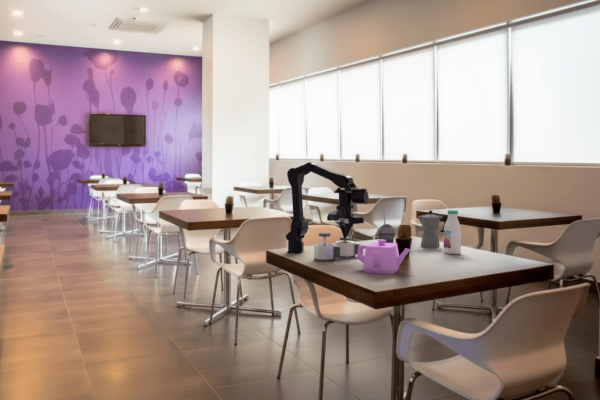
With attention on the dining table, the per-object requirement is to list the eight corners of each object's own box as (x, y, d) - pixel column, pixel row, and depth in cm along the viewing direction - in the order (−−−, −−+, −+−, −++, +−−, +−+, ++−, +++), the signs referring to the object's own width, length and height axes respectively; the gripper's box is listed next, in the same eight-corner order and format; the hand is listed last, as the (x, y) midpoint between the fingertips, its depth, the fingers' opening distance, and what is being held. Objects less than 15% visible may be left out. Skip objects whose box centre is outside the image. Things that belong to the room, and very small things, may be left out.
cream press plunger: (338, 251, 256) (338, 238, 256) (340, 249, 261) (340, 236, 260) (349, 252, 255) (349, 238, 254) (351, 250, 259) (351, 237, 259)
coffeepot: (415, 247, 282) (415, 210, 281) (418, 244, 291) (418, 209, 290) (447, 248, 277) (447, 211, 275) (449, 245, 286) (449, 210, 284)
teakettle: (387, 265, 238) (388, 235, 237) (412, 272, 223) (412, 241, 222) (352, 268, 231) (352, 238, 230) (374, 276, 216) (374, 244, 215)
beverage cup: (394, 261, 245) (394, 215, 244) (377, 260, 247) (377, 214, 245) (395, 258, 253) (395, 213, 251) (378, 257, 254) (378, 213, 252)
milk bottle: (459, 251, 268) (459, 209, 267) (462, 254, 261) (462, 211, 259) (442, 251, 269) (442, 209, 267) (444, 254, 261) (445, 210, 260)
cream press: (332, 257, 255) (332, 243, 254) (337, 254, 264) (337, 240, 263) (358, 258, 252) (358, 244, 251) (361, 255, 261) (362, 241, 260)
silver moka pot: (311, 260, 247) (311, 246, 247) (317, 257, 256) (317, 242, 256) (337, 262, 244) (337, 247, 244) (342, 258, 253) (342, 243, 252)
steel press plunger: (317, 248, 248) (317, 234, 248) (320, 246, 253) (320, 232, 253) (328, 248, 247) (328, 234, 246) (331, 246, 252) (331, 232, 251)
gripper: (317, 202, 258) (318, 237, 260) (346, 205, 244) (346, 242, 245) (336, 201, 265) (336, 234, 267) (364, 204, 251) (364, 239, 252)
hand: (345, 237), depth 257 cm, fingers closed, pressing on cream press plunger
